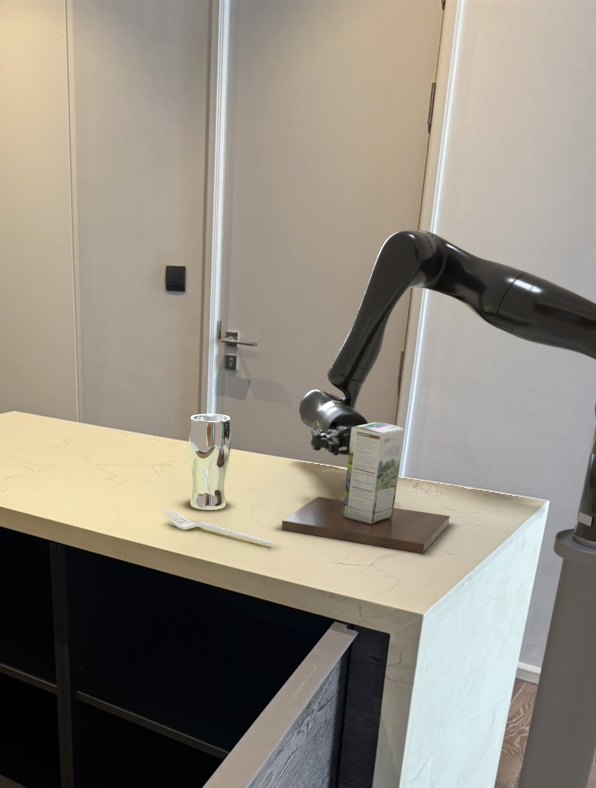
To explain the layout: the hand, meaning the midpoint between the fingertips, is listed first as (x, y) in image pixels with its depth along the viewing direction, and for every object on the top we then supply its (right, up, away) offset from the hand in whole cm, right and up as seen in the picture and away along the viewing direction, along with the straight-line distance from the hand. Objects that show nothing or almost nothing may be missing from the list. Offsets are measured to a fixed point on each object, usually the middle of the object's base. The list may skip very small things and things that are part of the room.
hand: (363, 449), depth 138 cm
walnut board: (0, -13, -2) cm, 13 cm away
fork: (-24, -14, -5) cm, 28 cm away
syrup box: (0, -11, -2) cm, 12 cm away
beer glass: (-24, -8, +9) cm, 27 cm away
